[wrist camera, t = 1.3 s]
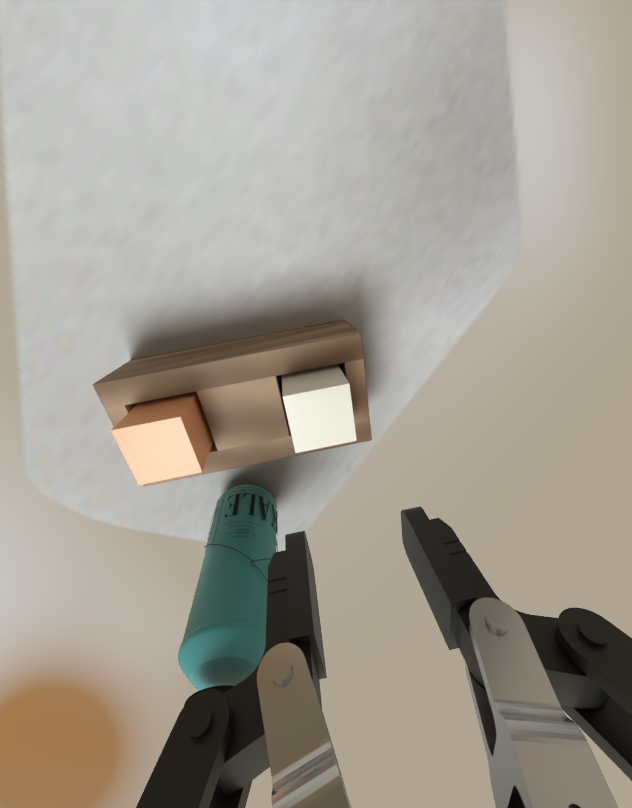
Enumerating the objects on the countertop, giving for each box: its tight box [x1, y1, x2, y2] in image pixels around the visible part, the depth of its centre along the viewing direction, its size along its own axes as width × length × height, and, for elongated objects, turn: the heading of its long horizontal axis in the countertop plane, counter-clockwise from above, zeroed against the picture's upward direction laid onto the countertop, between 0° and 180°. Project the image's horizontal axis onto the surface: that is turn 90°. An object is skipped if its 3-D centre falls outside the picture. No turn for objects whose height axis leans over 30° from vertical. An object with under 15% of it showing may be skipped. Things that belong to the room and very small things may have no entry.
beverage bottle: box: [178, 484, 278, 706], centre depth 25 cm, size 6×7×20 cm
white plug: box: [282, 364, 357, 453], centre depth 23 cm, size 4×4×5 cm
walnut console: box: [93, 320, 372, 486], centre depth 26 cm, size 9×19×6 cm, turn 99°
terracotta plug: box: [111, 391, 214, 485], centre depth 23 cm, size 4×4×5 cm
